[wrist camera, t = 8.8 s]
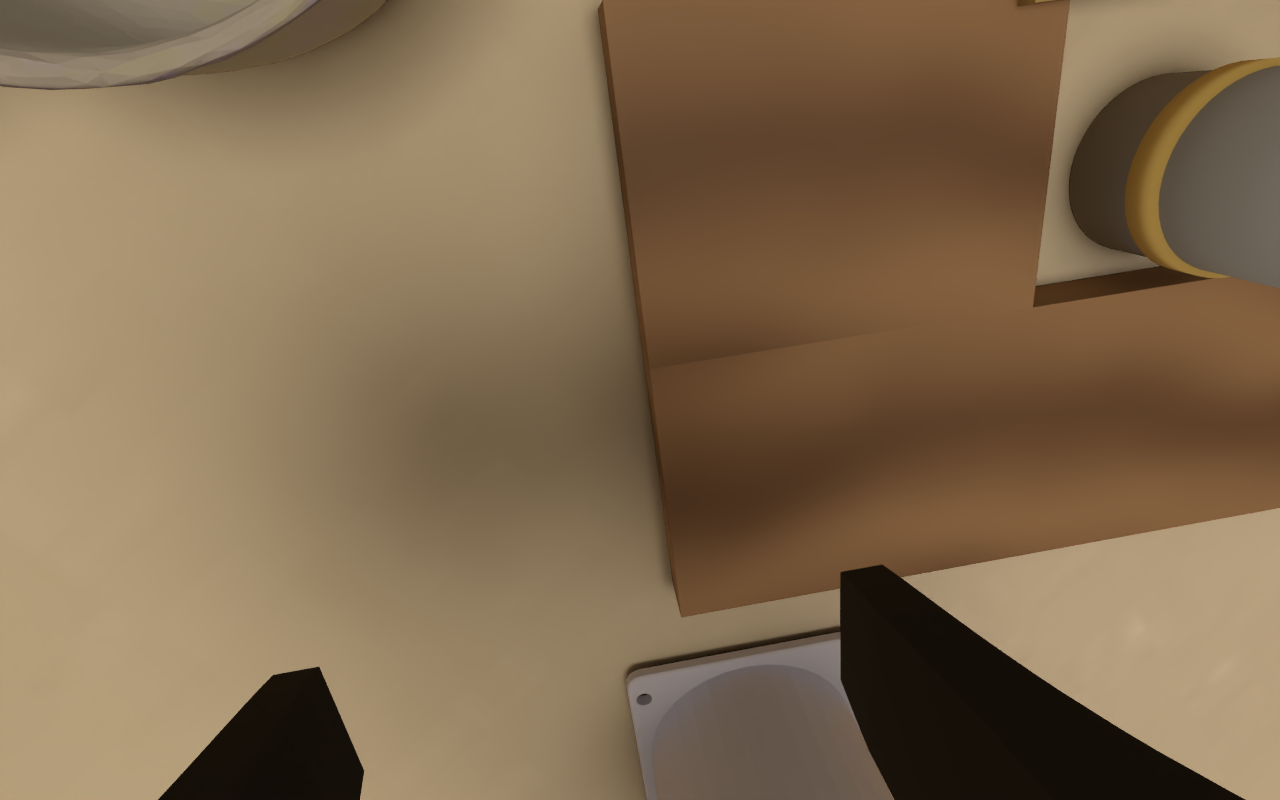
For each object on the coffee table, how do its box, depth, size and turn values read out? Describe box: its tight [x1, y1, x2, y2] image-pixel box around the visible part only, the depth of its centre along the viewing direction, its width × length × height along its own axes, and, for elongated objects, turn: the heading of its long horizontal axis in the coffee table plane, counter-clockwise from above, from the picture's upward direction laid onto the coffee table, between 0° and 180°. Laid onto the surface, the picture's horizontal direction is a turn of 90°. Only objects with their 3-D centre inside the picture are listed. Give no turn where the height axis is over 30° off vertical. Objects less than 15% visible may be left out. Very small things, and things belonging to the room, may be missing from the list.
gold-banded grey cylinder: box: [1069, 58, 1280, 288], centre depth 15 cm, size 5×5×5 cm
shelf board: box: [598, 0, 1280, 617], centre depth 18 cm, size 16×22×2 cm
